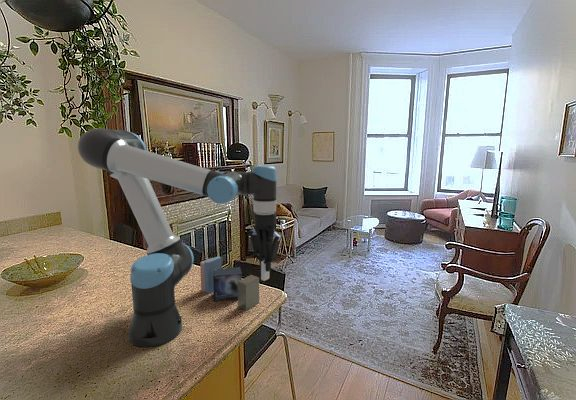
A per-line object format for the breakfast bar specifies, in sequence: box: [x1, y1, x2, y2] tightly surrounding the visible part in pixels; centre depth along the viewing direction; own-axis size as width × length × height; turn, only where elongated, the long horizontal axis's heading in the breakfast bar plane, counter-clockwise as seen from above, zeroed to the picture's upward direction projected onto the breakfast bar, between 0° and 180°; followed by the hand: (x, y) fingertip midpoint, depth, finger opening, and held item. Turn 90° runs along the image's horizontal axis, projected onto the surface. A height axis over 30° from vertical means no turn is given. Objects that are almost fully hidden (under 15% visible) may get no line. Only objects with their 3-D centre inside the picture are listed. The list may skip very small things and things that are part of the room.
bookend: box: [237, 274, 260, 312], centre depth 107 cm, size 7×4×10 cm, turn 145°
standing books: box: [199, 256, 223, 295], centre depth 119 cm, size 7×5×13 cm, turn 145°
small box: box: [212, 266, 243, 302], centre depth 114 cm, size 11×6×10 cm, turn 105°
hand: (265, 278), depth 102 cm, fingers closed
